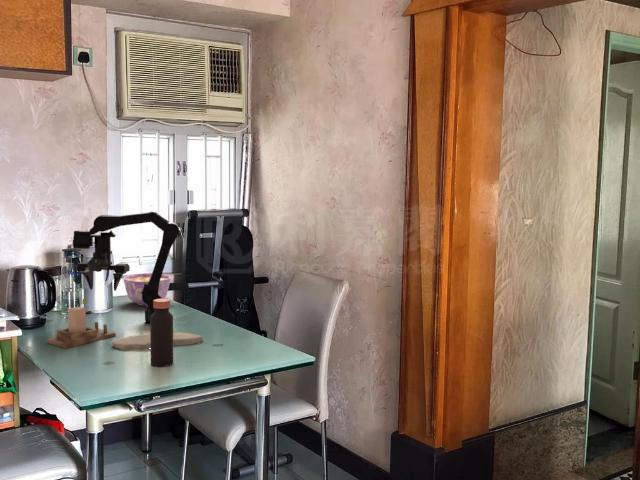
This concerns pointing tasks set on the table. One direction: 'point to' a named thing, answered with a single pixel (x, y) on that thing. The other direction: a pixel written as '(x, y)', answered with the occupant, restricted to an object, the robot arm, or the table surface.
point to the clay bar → (77, 320)
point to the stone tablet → (145, 341)
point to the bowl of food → (137, 283)
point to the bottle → (161, 334)
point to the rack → (80, 336)
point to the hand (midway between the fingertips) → (103, 290)
